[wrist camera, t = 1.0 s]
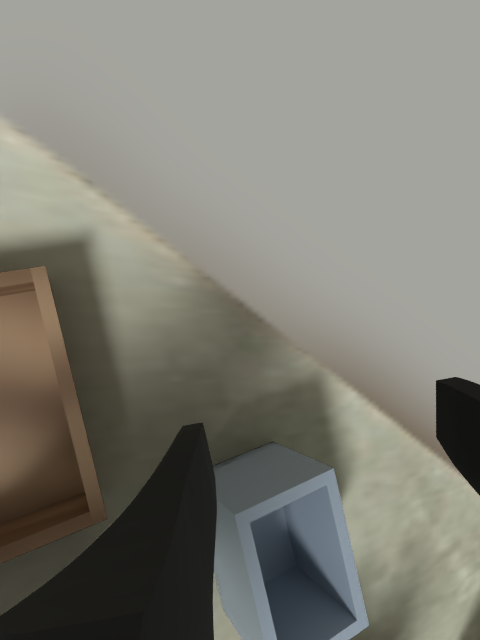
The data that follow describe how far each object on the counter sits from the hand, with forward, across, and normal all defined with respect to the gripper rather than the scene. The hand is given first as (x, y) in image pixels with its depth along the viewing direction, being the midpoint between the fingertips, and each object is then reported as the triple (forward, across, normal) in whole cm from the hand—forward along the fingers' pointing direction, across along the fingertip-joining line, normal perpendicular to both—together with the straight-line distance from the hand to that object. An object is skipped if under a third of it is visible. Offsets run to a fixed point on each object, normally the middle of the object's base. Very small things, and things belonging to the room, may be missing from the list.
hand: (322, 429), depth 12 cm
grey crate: (+8, +3, +12) cm, 15 cm away
